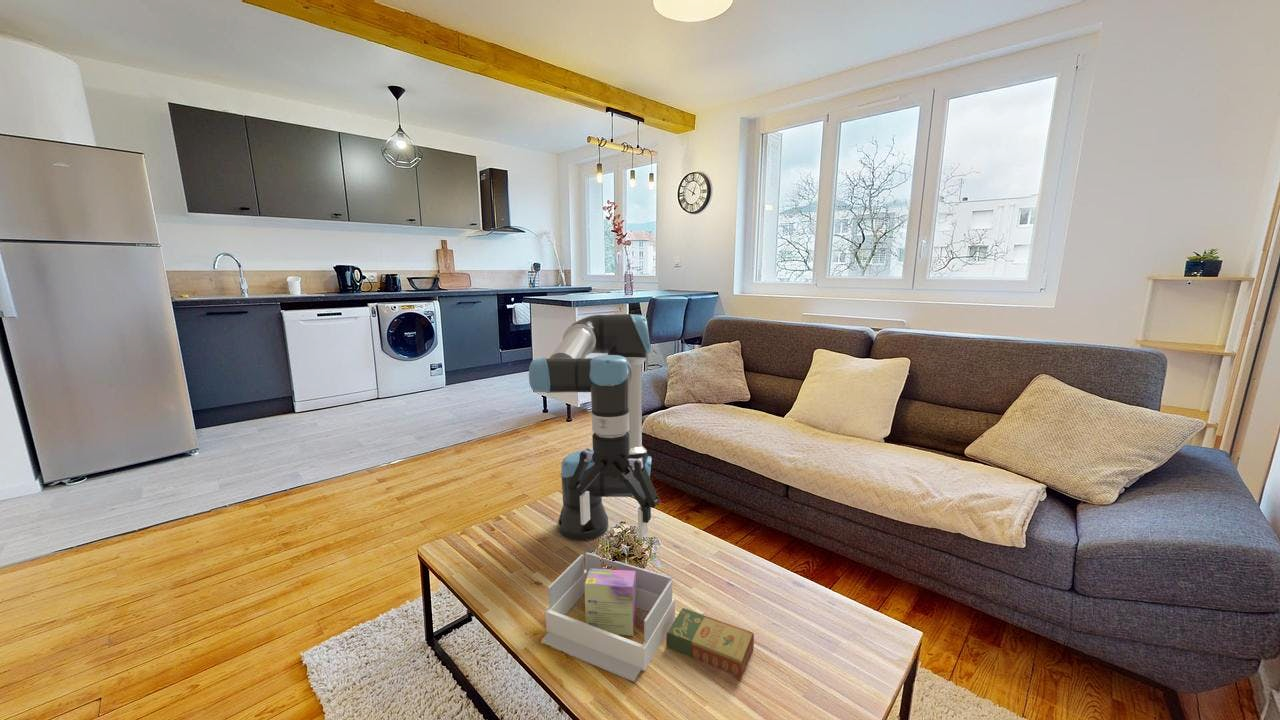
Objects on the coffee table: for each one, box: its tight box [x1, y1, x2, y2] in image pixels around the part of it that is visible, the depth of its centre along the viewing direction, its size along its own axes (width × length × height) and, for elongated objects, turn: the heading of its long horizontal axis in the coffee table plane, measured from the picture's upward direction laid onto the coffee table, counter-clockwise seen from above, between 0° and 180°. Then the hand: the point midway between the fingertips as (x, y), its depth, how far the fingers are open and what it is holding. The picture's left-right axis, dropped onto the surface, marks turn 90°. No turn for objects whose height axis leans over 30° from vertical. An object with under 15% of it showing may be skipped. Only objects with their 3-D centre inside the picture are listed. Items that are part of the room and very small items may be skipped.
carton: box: [665, 607, 755, 680], centre depth 95 cm, size 8×16×4 cm, turn 61°
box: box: [584, 568, 637, 637], centre depth 101 cm, size 10×6×12 cm, turn 84°
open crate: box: [541, 551, 676, 683], centre depth 99 cm, size 24×19×10 cm
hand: (613, 528), depth 98 cm, fingers open, 13 cm apart
